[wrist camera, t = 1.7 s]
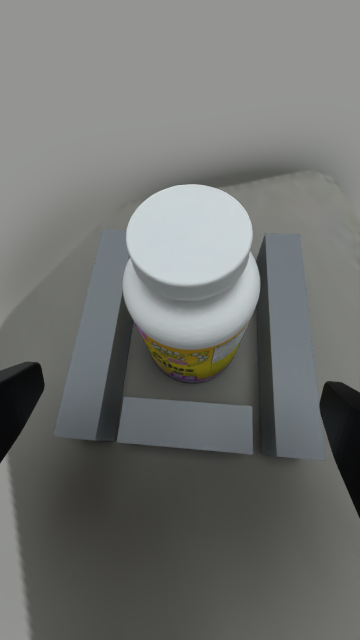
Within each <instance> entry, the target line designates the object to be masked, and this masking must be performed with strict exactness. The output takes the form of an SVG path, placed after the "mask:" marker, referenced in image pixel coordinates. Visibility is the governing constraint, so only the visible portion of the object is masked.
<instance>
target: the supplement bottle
mask: <svg viewBox="0 0 360 640" xmlns="http://www.w3.org/2000/svg"><path fill="white" fill-rule="evenodd" d="M252 237H253V233H252V225H251V221H250V218H249V216H248V214H247V212H246V211H245V209H244V208H243V206H242V205H241V204H240V203H239V202H238V201H237V200H236V199H235V198H233V197H232V196H230V195H229V194H227V193H225V192H223V191H221V190H219V189H216V188H213V187H209V186H204V185H195V184H190V185H179V186H174V187H170V188H167V189H164V190H162V191H159V192H157V193H156V194H154V195H152V196H150V197H149V198H148V199H146V200H145V201H144V202H143V203H142V204H141V205H140V206H139V207H138V208H137V210H136V211H135V212H134V214H133V215H132V217H131V219H130V221H129V224H128V227H127V231H126V244H127V249H128V252H129V256H130V258H129V260H128V262H127V265H126V268H125V271H124V276H123V295H124V300H125V303H126V306H127V309H128V311H129V313H130V315H131V317H132V319H133V321H134V322H135V324H136V326H137V328H138V330H139V332H140V334H141V336H142V338H143V340H144V342H145V344H146V346H147V348H148V350H149V351H150V353H151V355H152V357H153V359H154V361H155V362H156V364H157V365H158V366H159V368H160V369H161V370H162V371H163V372H165V373H166V374H167V375H169V376H170V377H172V378H174V379H177V380H179V381H184V382H202V381H206V380H209V379H212V378H214V377H215V376H217V375H219V374H220V373H221V372H222V371H223V370H224V369H225V368H226V367H227V366H228V365H229V363H230V362H231V360H232V359H233V357H234V355H235V353H236V351H237V348H238V346H239V344H240V341H241V339H242V337H243V335H244V332H245V330H246V328H247V326H248V324H249V321H250V319H251V317H252V315H253V313H254V310H255V307H256V305H257V302H258V299H259V293H260V275H259V270H258V267H257V264H256V261H255V259H254V257H253V255H252V253H251V252H250V249H251V244H252Z"/></svg>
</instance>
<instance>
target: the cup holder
mask: <svg viewBox="0 0 360 640" xmlns="http://www.w3.org/2000/svg"><path fill="white" fill-rule="evenodd" d="M126 231H127V230H102V233H101V237H100V241H99V245H98V250H97V254H96V258H95V262H94V266H93V270H92V275H91V279H90V283H89V287H88V291H87V295H86V300H85V304H84V308H83V312H82V316H81V320H80V325H79V329H78V333H77V337H76V341H75V345H74V350H73V354H72V358H71V362H70V366H69V370H68V375H67V379H66V383H65V387H64V391H63V395H62V400H61V404H60V408H59V412H58V416H57V420H56V425H55V429H54V433H53V437H61V438H72V439H84V440H95V441H114V440H115V434H116V428H117V421H118V415H119V409H120V402H121V396H122V390H123V383H124V377H125V371H126V364H127V358H128V352H129V346H130V339H131V333H132V327H133V319H132V317H131V315H130V313H129V311H128V309H127V306H126V303H125V300H124V295H123V276H124V271H125V268H126V265H127V262H128V260H129V258H130V256H129V252H128V249H127V244H126ZM256 264H257V267H258V270H259V275H260V293H259V299H258V302H257V305H256V308H257V338H258V369H259V400H260V430H261V454H266V455H271V456H276V457H286V458H298V459H309V460H320V461H326V459H325V450H324V442H323V433H322V424H321V415H320V409H319V398H318V389H317V380H316V372H315V363H314V354H313V345H312V336H311V328H310V319H309V310H308V301H307V293H306V284H305V275H304V266H303V258H302V249H301V240H300V234H267V233H265V236H264V239H263V242H262V245H261V248H260V251H259V254H258V257H257V260H256ZM117 443H129V444H140V445H151V446H163V447H174V448H185V449H196V450H208V451H219V452H230V453H241V454H253V428H252V406H243V405H229V404H216V403H202V402H189V401H175V400H162V399H148V398H135V397H124V399H123V405H122V411H121V418H120V424H119V431H118V437H117Z"/></svg>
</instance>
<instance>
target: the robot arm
mask: <svg viewBox="0 0 360 640" xmlns="http://www.w3.org/2000/svg"><path fill="white" fill-rule="evenodd" d="M44 386H45V384H44V378H43V373H42V368H41V365H40V364H39V363H38V362H24V363H21V364H18V365H15V366H12V367H10V368H7V369H4V370H1V371H0V463H1V461H2V460H3V458H4V457H5V455H6V454H7V453H8V451H9V450H10V448H11V447H12V445H13V444H14V442H15V441H16V439H17V438H18V436H19V434H20V433H21V431H22V429H23V428H24V426H25V424H26V422H27V421H28V419H29V417H30V415H31V413H32V411H33V409H34V408H35V406H36V404H37V402H38V400H39V398H40V396H41V395H42V393H43V390H44ZM319 409H320V414H321V417H322V420H323V424H324V427H325V430H326V434H327V437H328V440H329V443H330V447H331V450H332V453H333V456H334V459H335V461H336V464H337V466H338V469H339V471H340V474H341V476H342V478H343V481H344V483H345V485H346V488H347V490H348V492H349V495H350V497H351V499H352V502H353V504H354V506H355V509H356V511H357V513H358V516H359V518H360V392H358V391H356V390H354V389H353V388H351V387H349V386H347V385H345V384H344V383H342V382H333V381H327V382H326V383H325V384H324V387H323V391H322V395H321V399H320V404H319Z"/></svg>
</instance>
